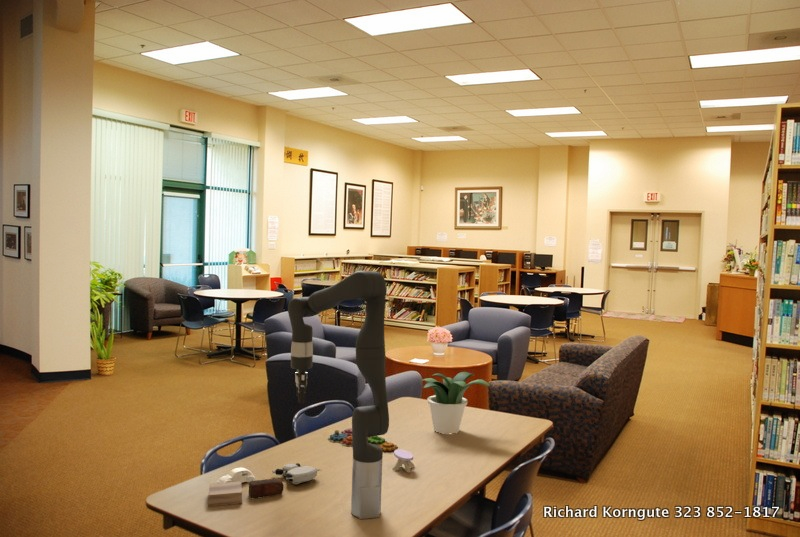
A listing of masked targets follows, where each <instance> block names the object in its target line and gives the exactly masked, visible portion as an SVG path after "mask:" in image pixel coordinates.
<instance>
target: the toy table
mask: <svg viewBox="0 0 800 537" xmlns="http://www.w3.org/2000/svg"><path fill="white" fill-rule="evenodd" d="M393 455H394V457H395V458H397V461H396V463H395V464H394V465H393V466H392V467H391V468H392V471H394V470H395V471H399V470H400V468H401V467H400V466H402V467H403V466H404V470H405V472H407V473H408V472H410V473H411V468H410V467H412V468H415V464H414V463H413V462H412V461H413V460H414V454H413V453H412V452H410V451H409V450H406V449H401V448H398V449H395V450H393Z"/></svg>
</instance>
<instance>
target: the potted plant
mask: <svg viewBox="0 0 800 537" xmlns="http://www.w3.org/2000/svg"><path fill="white" fill-rule="evenodd" d="M472 376H473V377H474V376H475V374H474V373H471V372H468V371H461V372H459V373H457V374H456V375H455V376H454V377H453V378H452V377H447V376H445V374H442V373H437V372H436V373H434V374H432V375H431V377H429V378H424V379H421V382H423V381H424V382H426V383H425V385H424V386H423V387H422V389H424V390H425V389H430V388H432V390H433V392H434V394H433V395H431V396H428V397H427V398H426V399H427V404H428V405H429V408H430V414H431V421H432V426H433V427H432V428H433V431H434V430H435V431H436V432H435V431H434V432H435V433H437V432H439V433H438V434H440V433H444V434H443V435H450V434H449V433H456V432H458V431H460V428H461V423H462V418H463V415H464V413H465V412H464V411H465V408H466V407H467V405H468V402H469V401H468V399H467V398H465V397H463V396H464V394H465V392H466V390H467V389H468V388H469V387H471V386H472V385H475V384H476V385H482V386H486V387H491V385H490V384H489V383H488V382H487V381H485V380H484V379H476V380H472V381H470V382H468V383H466V381H467V380H469V378H471V377H472ZM432 377H440V378H442V382H441V381H438V380H436V379H435V378H432ZM458 433H459V432H458ZM456 434H457V433H456Z"/></svg>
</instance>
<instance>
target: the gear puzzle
mask: <svg viewBox="0 0 800 537" xmlns="http://www.w3.org/2000/svg"><path fill="white" fill-rule="evenodd" d="M327 441H329V443H337V444H341V445H342V446H343V447H346V446H347V447H351V448H352V427H350V428H346V429H344V430H342V431H341V432H340V431H339V430H338V429H336V430H334V433H333V434H330V435H329V437H328V438H327ZM367 443H370V444H374V445H377V446H379V447H381V449H382V451H383V452H386V451H387V452H392V451H395V450H397V449H399V446H398V445H397V444H394V443H393V442H388V441H387V440H386V439H385V438H384V437H381V436H371V437H367Z"/></svg>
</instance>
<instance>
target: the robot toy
mask: <svg viewBox="0 0 800 537" xmlns="http://www.w3.org/2000/svg"><path fill="white" fill-rule="evenodd" d="M281 468H282V469H281ZM281 468H276V469H273V470H272V471H271V473H272V474H275V475H276V476H281V475H283V476H284V477H285V476H286V477H285V480H287V481H288V482H290V483H292V484H293V485H298V484H300V483H304V482H309V481H311V480H313V479H315V478H316V477H317V476H318V471H322V468H321V469H319V468H318V469H317V468H316V467H313V466H311V465H304V466H301V464H300V463H298V462H297V463H287V464H284V465H282V466H281Z"/></svg>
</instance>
